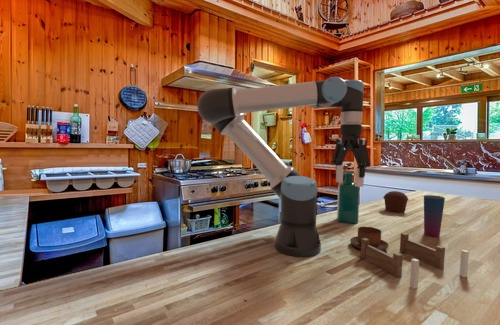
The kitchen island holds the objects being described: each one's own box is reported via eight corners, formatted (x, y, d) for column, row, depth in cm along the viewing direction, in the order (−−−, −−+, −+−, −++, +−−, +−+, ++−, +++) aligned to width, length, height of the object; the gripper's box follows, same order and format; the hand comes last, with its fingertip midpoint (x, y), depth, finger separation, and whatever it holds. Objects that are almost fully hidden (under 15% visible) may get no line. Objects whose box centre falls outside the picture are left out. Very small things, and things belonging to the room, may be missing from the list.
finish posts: (414, 288, 70) (415, 261, 69) (409, 286, 71) (411, 259, 70) (467, 276, 76) (468, 251, 76) (462, 274, 78) (464, 249, 77)
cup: (422, 236, 109) (424, 197, 108) (420, 231, 115) (423, 194, 114) (443, 239, 106) (446, 199, 104) (441, 234, 112) (443, 196, 110)
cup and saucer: (356, 239, 106) (357, 222, 105) (392, 247, 98) (393, 229, 97) (344, 248, 96) (345, 230, 96) (382, 257, 89) (383, 238, 88)
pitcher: (358, 224, 124) (360, 173, 122) (338, 222, 125) (340, 173, 124) (355, 218, 133) (357, 171, 131) (336, 216, 135) (338, 170, 133)
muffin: (384, 212, 145) (385, 192, 144) (381, 207, 155) (381, 189, 154) (410, 214, 141) (411, 194, 140) (405, 209, 152) (406, 190, 151)
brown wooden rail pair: (396, 277, 76) (398, 255, 75) (360, 257, 88) (361, 238, 88) (443, 267, 82) (445, 247, 81) (403, 250, 94) (404, 232, 94)
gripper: (383, 122, 95) (380, 188, 97) (339, 125, 116) (337, 179, 118) (365, 122, 92) (363, 189, 94) (323, 125, 114) (322, 180, 115)
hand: (348, 184), depth 106 cm, fingers open, 10 cm apart
